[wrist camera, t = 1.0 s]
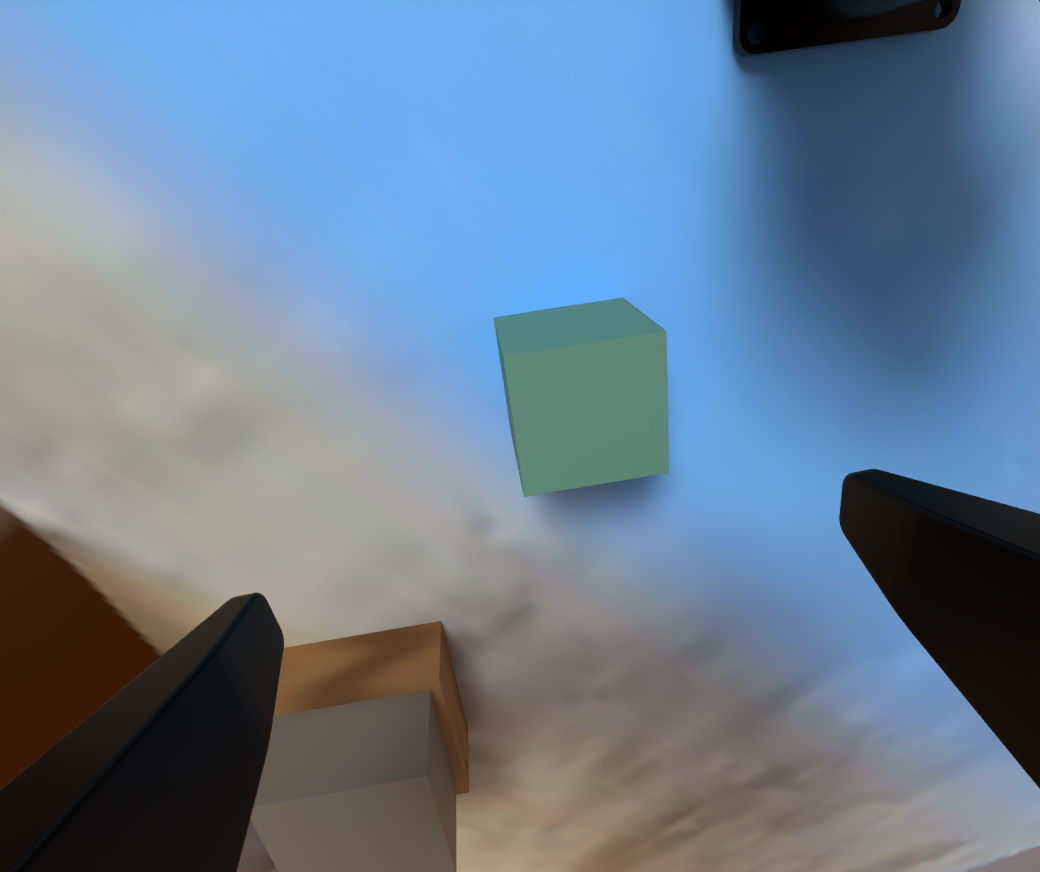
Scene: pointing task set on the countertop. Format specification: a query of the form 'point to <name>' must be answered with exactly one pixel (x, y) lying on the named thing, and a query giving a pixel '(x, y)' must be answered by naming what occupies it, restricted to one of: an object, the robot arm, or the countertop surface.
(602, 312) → the teal block
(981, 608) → the robot arm
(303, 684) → the walnut base block
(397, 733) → the charcoal block
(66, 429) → the countertop surface
